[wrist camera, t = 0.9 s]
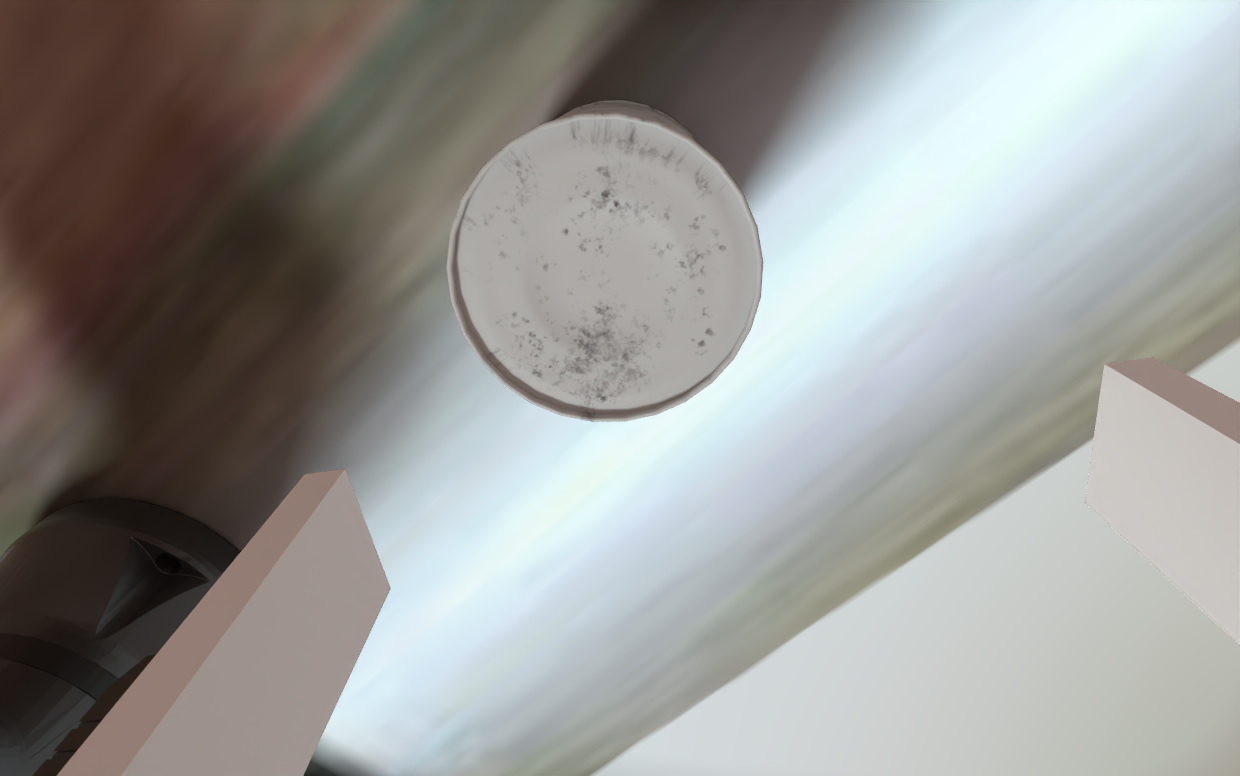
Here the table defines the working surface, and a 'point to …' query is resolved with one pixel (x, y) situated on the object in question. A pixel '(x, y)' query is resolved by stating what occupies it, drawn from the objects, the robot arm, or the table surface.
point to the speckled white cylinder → (605, 264)
